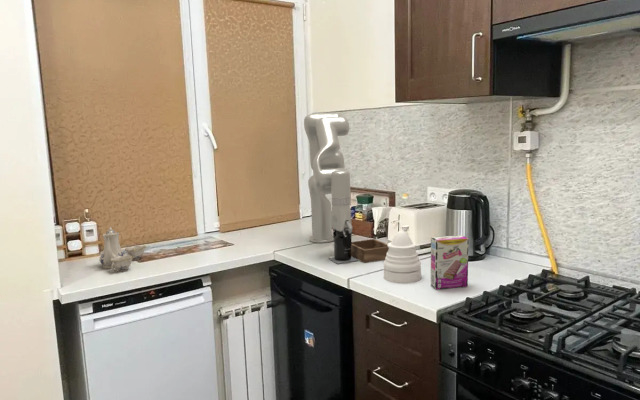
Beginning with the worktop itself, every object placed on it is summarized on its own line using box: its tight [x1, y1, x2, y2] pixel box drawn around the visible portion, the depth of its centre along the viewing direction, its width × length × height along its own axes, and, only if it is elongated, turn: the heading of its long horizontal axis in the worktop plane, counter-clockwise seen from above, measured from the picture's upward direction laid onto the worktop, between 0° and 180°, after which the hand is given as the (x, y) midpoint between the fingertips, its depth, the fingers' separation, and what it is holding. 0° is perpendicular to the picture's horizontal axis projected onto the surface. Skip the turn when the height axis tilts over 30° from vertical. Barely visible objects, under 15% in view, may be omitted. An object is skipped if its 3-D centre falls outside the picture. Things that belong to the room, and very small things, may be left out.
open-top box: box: [351, 238, 389, 264], centre depth 200 cm, size 16×13×5 cm
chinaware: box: [98, 226, 147, 272], centre depth 201 cm, size 28×17×17 cm, turn 9°
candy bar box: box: [430, 235, 470, 290], centre depth 157 cm, size 11×5×16 cm, turn 99°
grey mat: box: [328, 256, 359, 265], centre depth 196 cm, size 9×9×1 cm
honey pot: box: [383, 224, 422, 284], centre depth 169 cm, size 13×13×18 cm
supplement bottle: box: [333, 230, 352, 261], centre depth 195 cm, size 7×7×12 cm
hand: (342, 243), depth 195 cm, fingers open, 9 cm apart
